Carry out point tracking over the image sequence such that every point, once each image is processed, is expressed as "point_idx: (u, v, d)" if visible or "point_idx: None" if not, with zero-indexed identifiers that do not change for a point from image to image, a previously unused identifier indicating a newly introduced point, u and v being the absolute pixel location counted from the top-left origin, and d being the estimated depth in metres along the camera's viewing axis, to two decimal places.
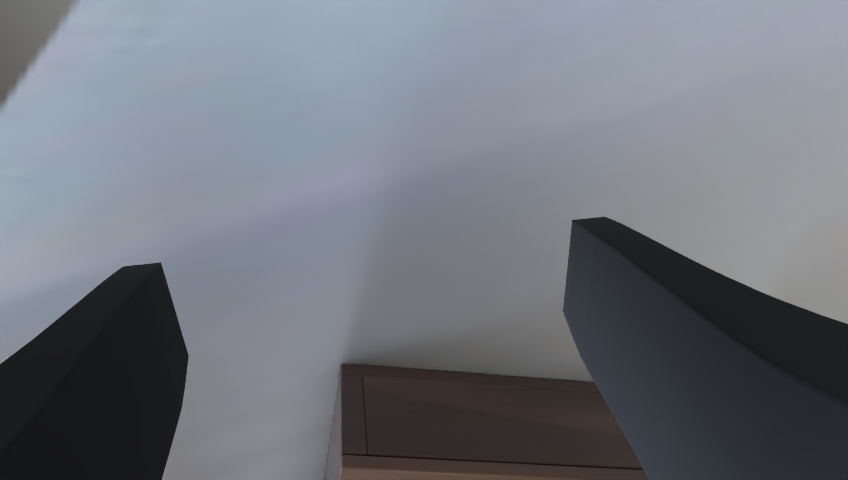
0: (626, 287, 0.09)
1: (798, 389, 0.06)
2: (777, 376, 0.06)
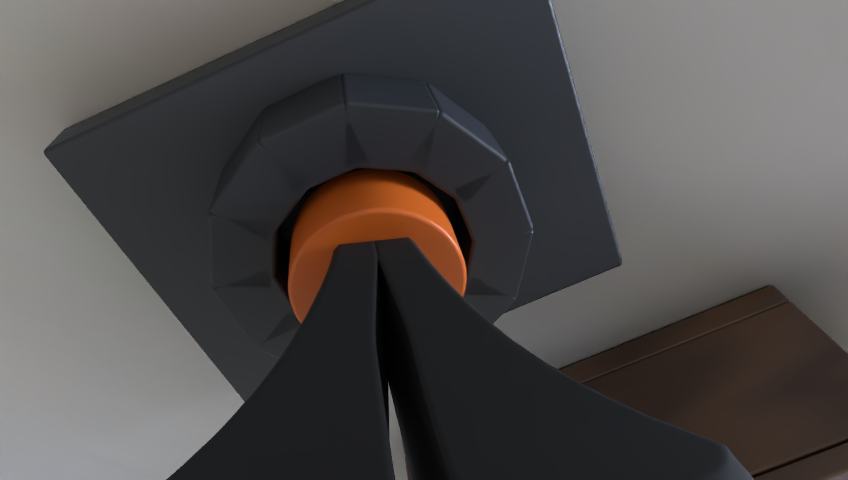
0: (392, 314, 0.09)
1: (435, 440, 0.06)
2: (429, 423, 0.06)
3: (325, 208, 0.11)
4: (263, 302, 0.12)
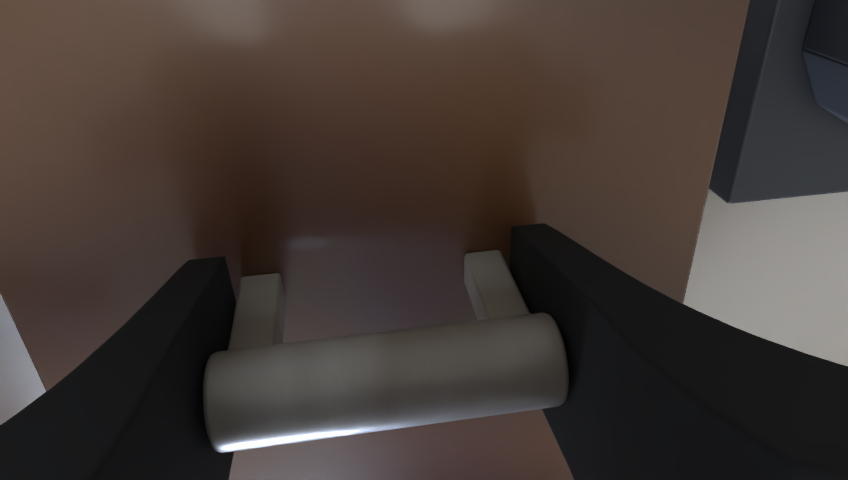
0: (554, 295, 0.09)
1: (688, 404, 0.06)
2: (672, 390, 0.06)
3: None
4: None
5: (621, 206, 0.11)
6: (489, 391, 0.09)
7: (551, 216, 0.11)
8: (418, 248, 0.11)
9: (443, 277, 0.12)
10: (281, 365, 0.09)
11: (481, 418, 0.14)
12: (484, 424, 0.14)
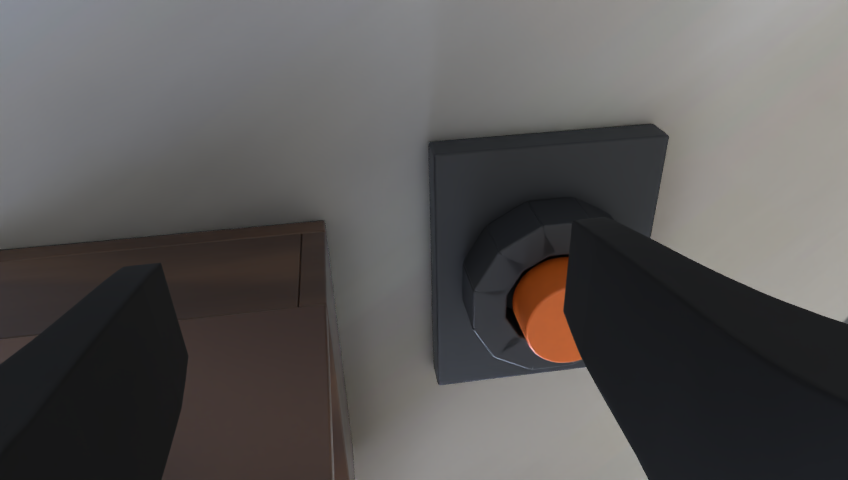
0: (626, 287, 0.09)
1: (798, 389, 0.06)
2: (777, 376, 0.06)
3: None
4: (569, 242, 0.20)
5: (252, 458, 0.13)
6: None
7: (187, 469, 0.13)
8: None
9: None
10: None
11: None
12: None
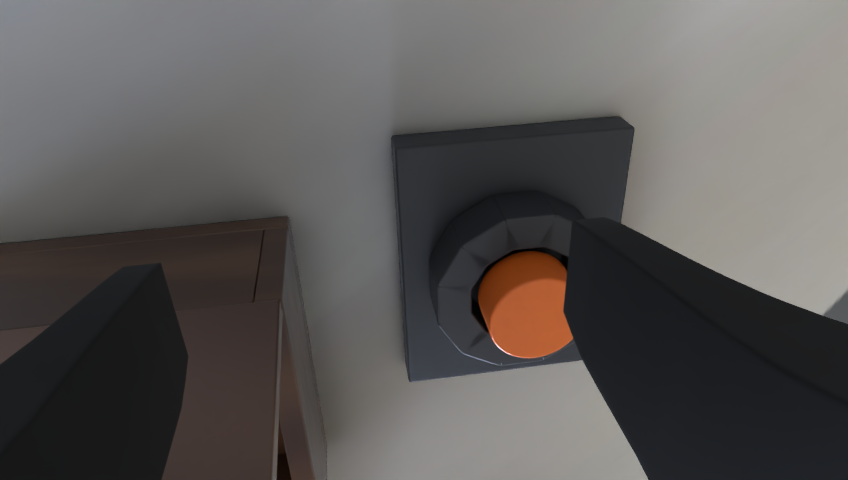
0: (626, 287, 0.09)
1: (798, 389, 0.06)
2: (777, 376, 0.06)
3: None
4: (532, 236, 0.20)
5: (193, 454, 0.13)
6: None
7: None
8: None
9: None
10: None
11: None
12: None
